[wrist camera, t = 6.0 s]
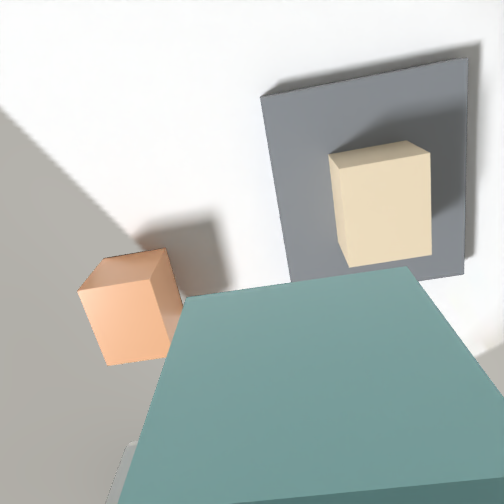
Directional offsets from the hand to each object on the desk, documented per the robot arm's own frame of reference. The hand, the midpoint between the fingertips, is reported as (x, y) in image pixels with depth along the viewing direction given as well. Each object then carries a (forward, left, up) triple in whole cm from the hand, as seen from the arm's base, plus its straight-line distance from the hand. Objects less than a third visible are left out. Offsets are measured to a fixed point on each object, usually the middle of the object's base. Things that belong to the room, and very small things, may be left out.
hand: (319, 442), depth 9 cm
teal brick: (0, 0, -2) cm, 2 cm away
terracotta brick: (+7, -11, -22) cm, 26 cm away
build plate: (+2, +6, -22) cm, 23 cm away
